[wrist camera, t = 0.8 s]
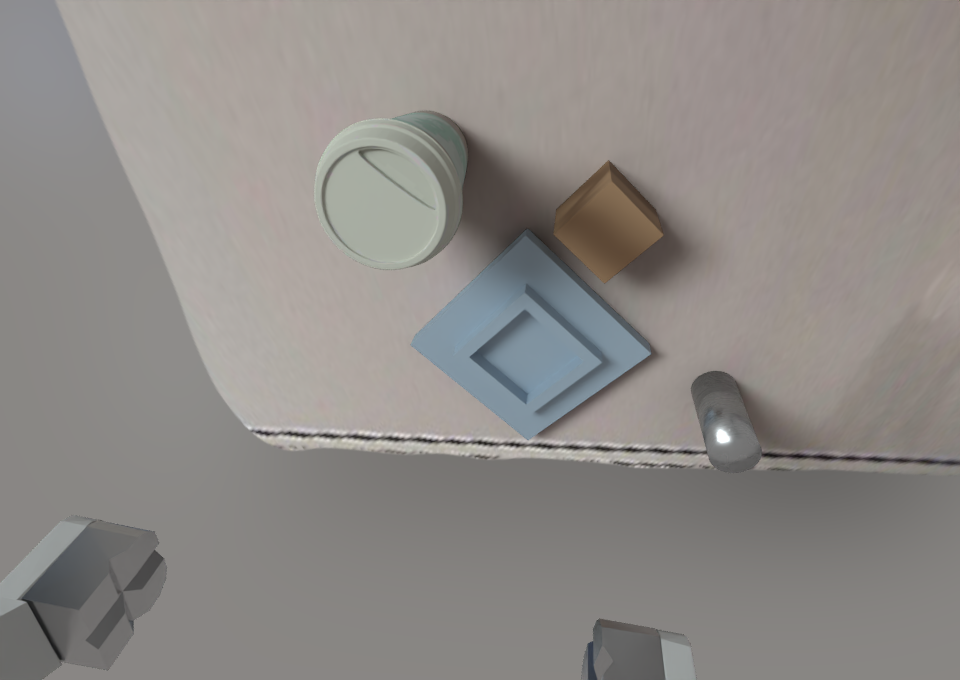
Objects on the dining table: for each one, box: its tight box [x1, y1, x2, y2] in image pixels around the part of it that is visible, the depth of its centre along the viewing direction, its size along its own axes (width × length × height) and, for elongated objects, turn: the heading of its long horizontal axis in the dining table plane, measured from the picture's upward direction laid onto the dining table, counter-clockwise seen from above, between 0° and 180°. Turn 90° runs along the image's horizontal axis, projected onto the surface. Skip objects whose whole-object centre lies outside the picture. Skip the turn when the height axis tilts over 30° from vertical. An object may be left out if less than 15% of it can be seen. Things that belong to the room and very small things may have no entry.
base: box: [411, 228, 651, 440], centre depth 47 cm, size 14×14×3 cm
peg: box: [691, 371, 762, 473], centre depth 45 cm, size 4×4×8 cm
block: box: [553, 160, 664, 284], centre depth 39 cm, size 5×5×5 cm
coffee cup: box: [314, 111, 468, 270], centre depth 36 cm, size 9×9×12 cm
